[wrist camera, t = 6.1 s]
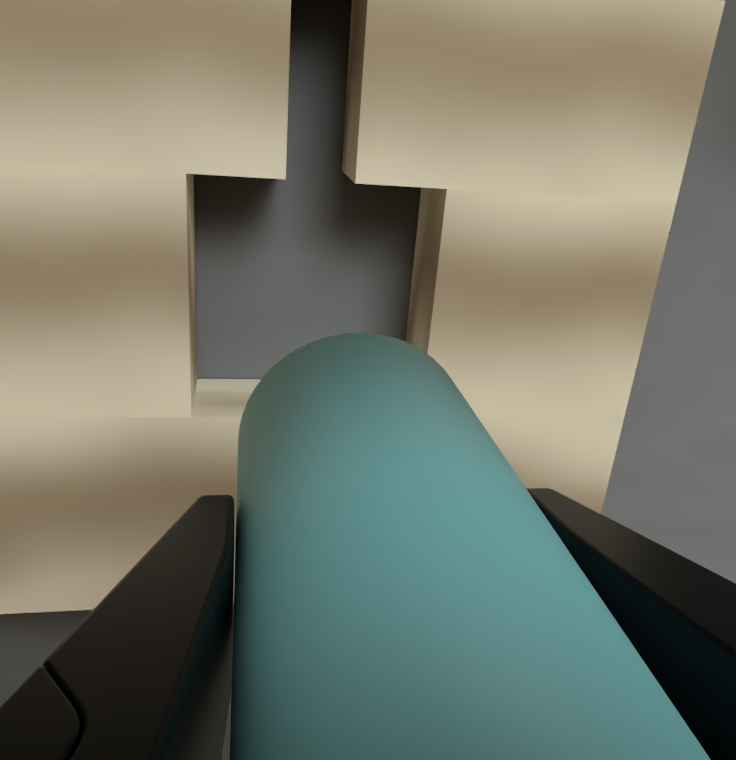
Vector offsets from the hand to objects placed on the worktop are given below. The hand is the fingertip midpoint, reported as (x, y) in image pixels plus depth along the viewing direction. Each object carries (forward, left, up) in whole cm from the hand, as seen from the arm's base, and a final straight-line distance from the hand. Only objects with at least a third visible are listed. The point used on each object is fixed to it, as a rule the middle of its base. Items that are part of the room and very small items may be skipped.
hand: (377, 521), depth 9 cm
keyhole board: (0, 0, -12) cm, 12 cm away
